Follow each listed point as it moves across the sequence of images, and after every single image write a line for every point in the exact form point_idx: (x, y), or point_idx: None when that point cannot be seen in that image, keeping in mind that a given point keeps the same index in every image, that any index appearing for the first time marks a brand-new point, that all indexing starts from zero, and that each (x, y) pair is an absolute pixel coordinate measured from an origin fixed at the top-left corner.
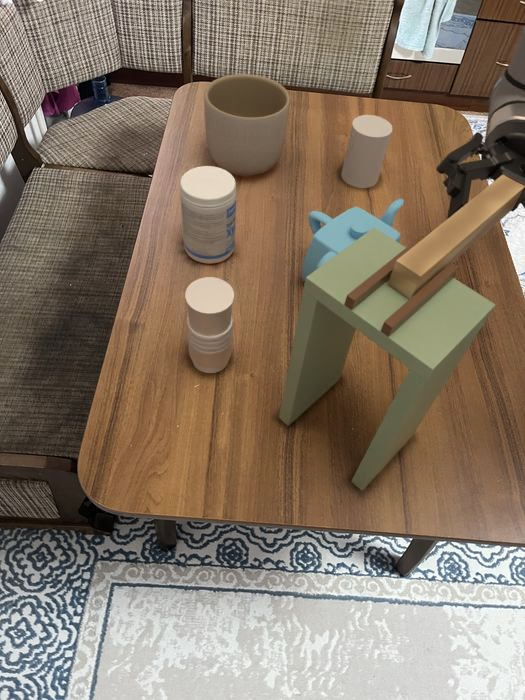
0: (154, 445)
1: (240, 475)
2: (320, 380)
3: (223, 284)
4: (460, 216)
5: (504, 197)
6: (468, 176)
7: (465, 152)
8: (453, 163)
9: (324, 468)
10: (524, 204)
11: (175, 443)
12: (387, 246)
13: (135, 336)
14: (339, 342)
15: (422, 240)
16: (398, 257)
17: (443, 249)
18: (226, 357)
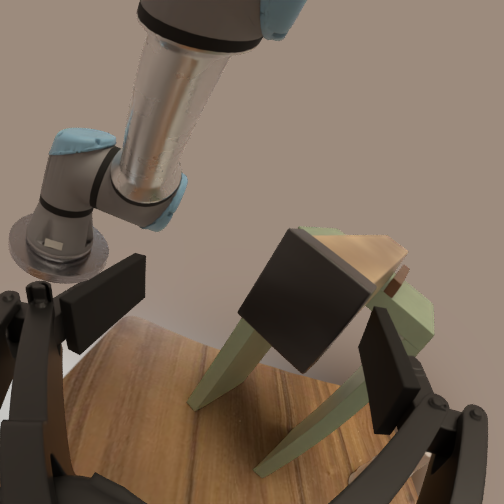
0: (363, 420)
1: (314, 399)
2: (298, 429)
3: (427, 452)
4: (391, 253)
5: (346, 242)
6: (410, 374)
7: (462, 469)
8: (456, 418)
9: (262, 394)
10: (66, 450)
11: (354, 420)
12: (411, 309)
13: (407, 491)
14: (322, 412)
15: (404, 253)
16: (402, 276)
17: (384, 238)
18: (360, 469)
